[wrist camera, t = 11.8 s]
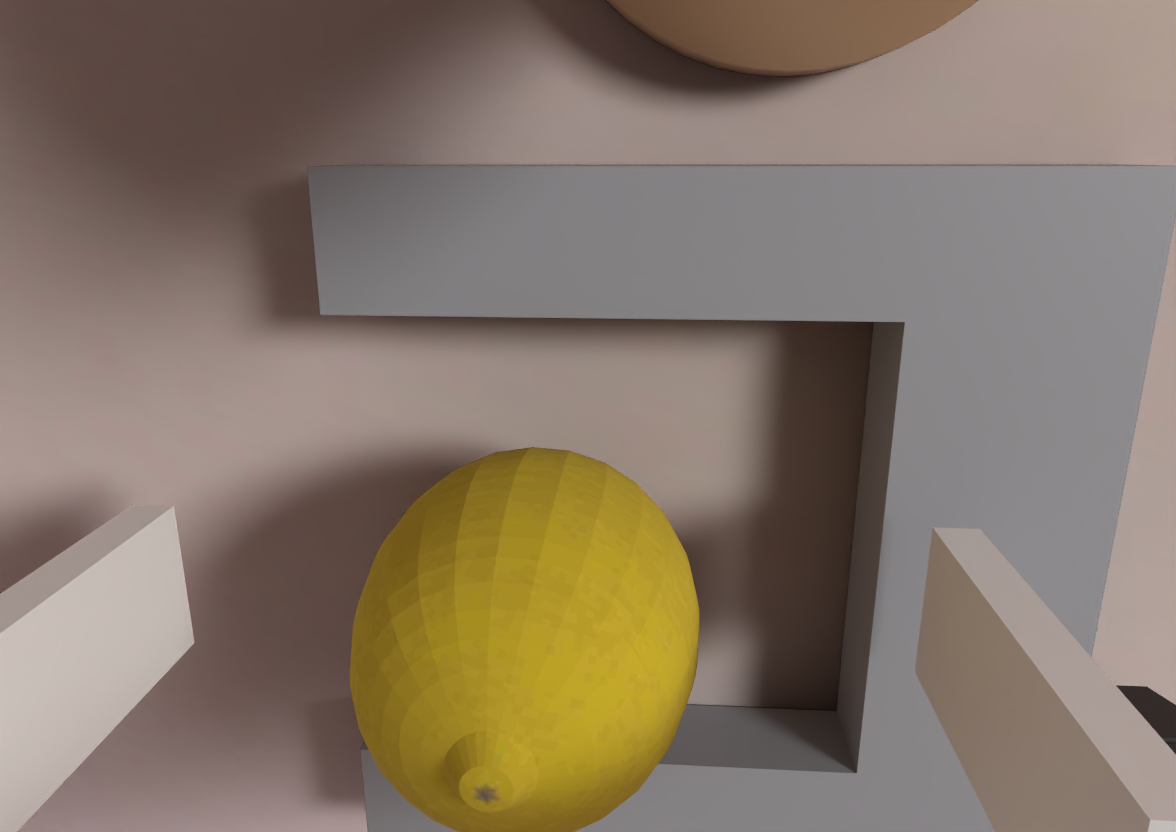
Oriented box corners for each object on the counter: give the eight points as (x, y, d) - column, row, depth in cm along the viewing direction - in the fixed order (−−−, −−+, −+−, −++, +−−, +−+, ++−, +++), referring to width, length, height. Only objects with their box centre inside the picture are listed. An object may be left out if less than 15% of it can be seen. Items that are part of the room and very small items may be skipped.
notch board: (347, 165, 16) (306, 166, 14) (1119, 164, 15) (1185, 166, 13) (396, 783, 20) (369, 848, 18) (1008, 814, 19) (1047, 886, 18)
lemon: (394, 581, 19) (215, 874, 11) (481, 353, 17) (340, 517, 10) (627, 675, 19) (607, 1024, 12) (735, 459, 17) (796, 701, 10)
